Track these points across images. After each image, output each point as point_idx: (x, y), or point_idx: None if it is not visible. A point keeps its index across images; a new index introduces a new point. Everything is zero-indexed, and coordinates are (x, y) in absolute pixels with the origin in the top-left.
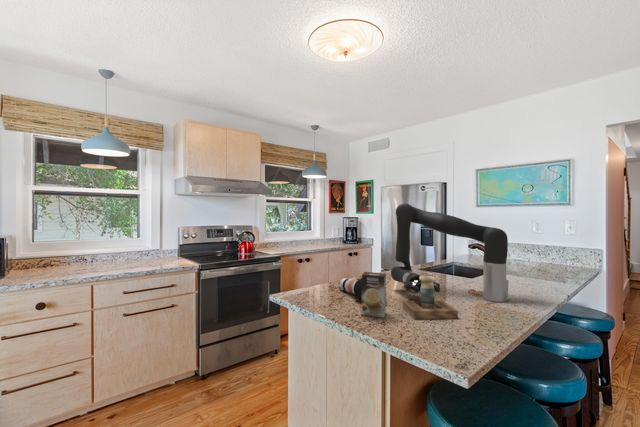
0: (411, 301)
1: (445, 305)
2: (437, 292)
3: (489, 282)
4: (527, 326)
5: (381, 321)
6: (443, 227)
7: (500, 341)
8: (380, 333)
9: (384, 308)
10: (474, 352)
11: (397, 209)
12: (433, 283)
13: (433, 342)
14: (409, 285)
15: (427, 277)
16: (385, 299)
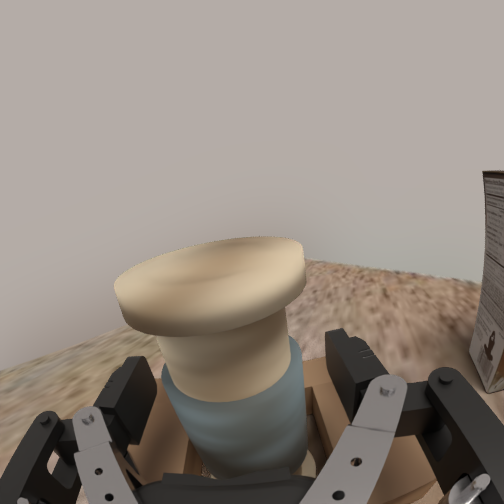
0: (372, 495)
1: (149, 435)
2: (156, 392)
3: None
4: (52, 353)
5: (459, 328)
6: None
7: None
8: (428, 288)
9: (480, 333)
10: None
11: None
12: (33, 493)
13: (317, 290)
14: (427, 382)
15: (204, 260)
16: (501, 325)
